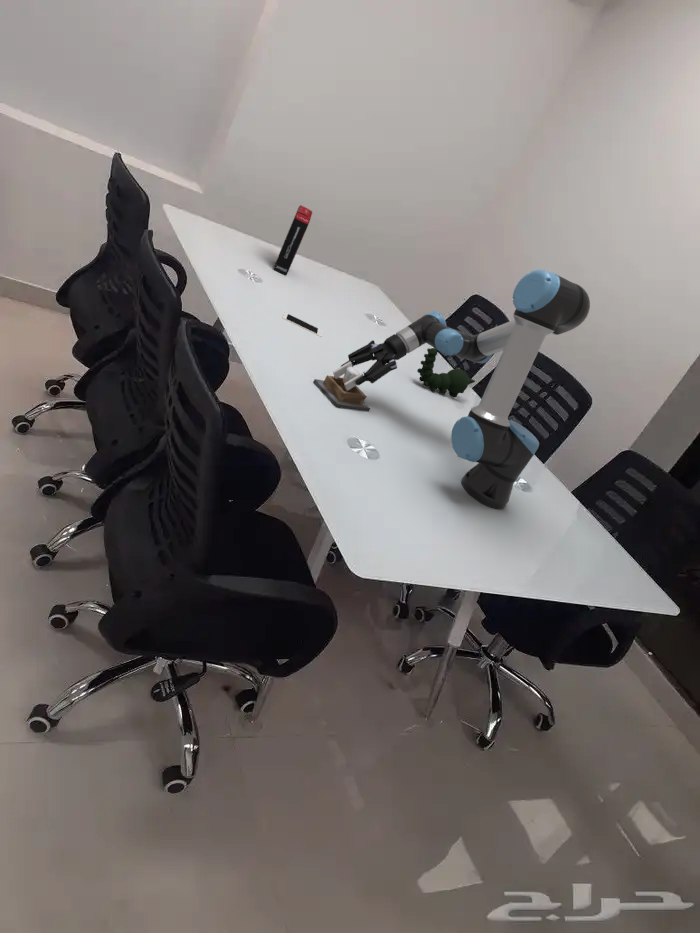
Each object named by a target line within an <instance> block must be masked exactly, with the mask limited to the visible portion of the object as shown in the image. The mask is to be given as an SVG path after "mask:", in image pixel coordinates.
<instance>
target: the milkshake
mask: <svg viewBox="0 0 700 933" xmlns="http://www.w3.org/2000/svg"><path fill="white" fill-rule="evenodd" d="M364 373H366V370H365V371H363V372H362V374H364ZM359 374H361V372H360V370H359V369H357V368H356V367H354V366H353V367H348V368H347V369H346V372H345V374H343V377H342V378H343V379H342V382H341V384H340V387H341V388H342V389H343V390H344V391H347V390H346V388H345V385H344V383H346V382H348V381H349V380H351V379H353V378H354V377H356V376H357V375H359ZM350 390H351V389H350ZM350 390H348V391H347V392H350Z"/></svg>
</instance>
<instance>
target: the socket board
mask: <svg viewBox="0 0 700 933" xmlns="http://www.w3.org/2000/svg"><path fill="white" fill-rule="evenodd" d="M342 379H343V377H341V376H340V377H338V378H337V379H335V377H334V375H328V374H327V375H326V376H325V379H324V380H323V379H322V380H321V379H316V378H315V379H314V380H313V384H314V386H316V387H317V388H318V390H320V391H321V393H322V394H323V396H325V397H326V398H327V399H328V400H329V402H330V403H331V404H332V405H333V406H334V407H335V408H337V409H345V410H352V411H353V410H354V411H360V412H370V410H371V408H370V406H368V404H367V403H366V402H365V400H366V398H367V395H366V394H365V393H364V392H363V391H362V390H361V389H360V388H359V386H357V385H356V386H354V387H353V388H351V390H350V392H347V391H344V390H343V389H342V388H341V387H340V384H341V382H342Z"/></svg>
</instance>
